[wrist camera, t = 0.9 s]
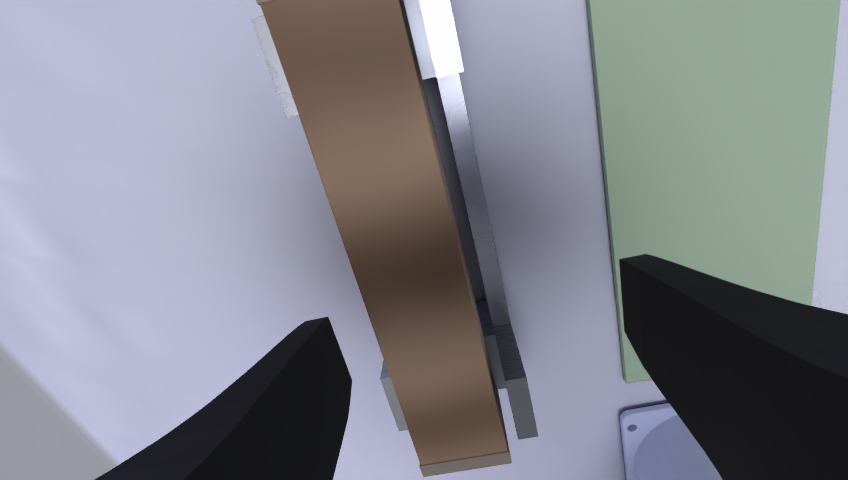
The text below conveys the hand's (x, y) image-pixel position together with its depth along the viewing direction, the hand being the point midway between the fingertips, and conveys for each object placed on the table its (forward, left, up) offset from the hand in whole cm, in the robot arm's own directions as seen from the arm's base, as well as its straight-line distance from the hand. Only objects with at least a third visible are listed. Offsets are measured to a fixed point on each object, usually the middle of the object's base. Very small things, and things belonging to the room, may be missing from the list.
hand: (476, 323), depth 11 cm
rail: (0, +2, -7) cm, 7 cm away
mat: (-2, -11, -10) cm, 15 cm away
